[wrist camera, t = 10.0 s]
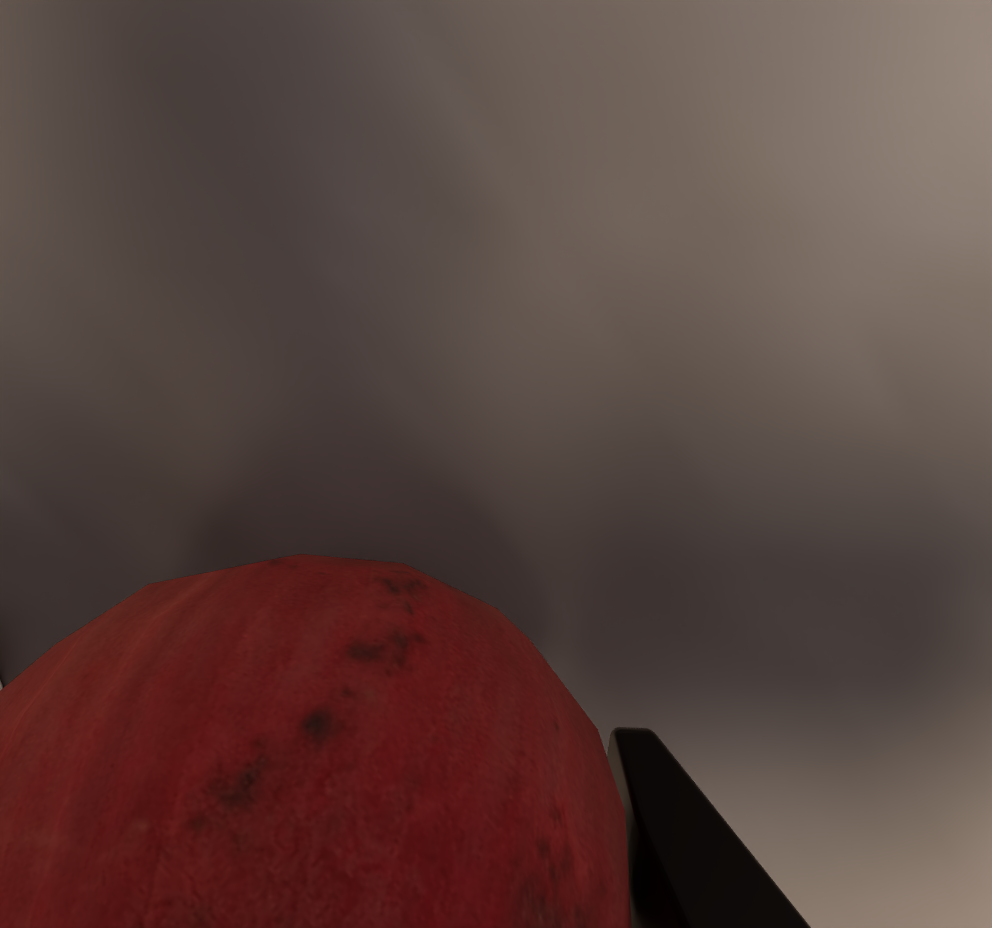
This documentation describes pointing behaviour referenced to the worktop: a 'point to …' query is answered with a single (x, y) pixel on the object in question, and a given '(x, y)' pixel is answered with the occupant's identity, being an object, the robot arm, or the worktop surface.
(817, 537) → the worktop surface
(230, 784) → the onion
